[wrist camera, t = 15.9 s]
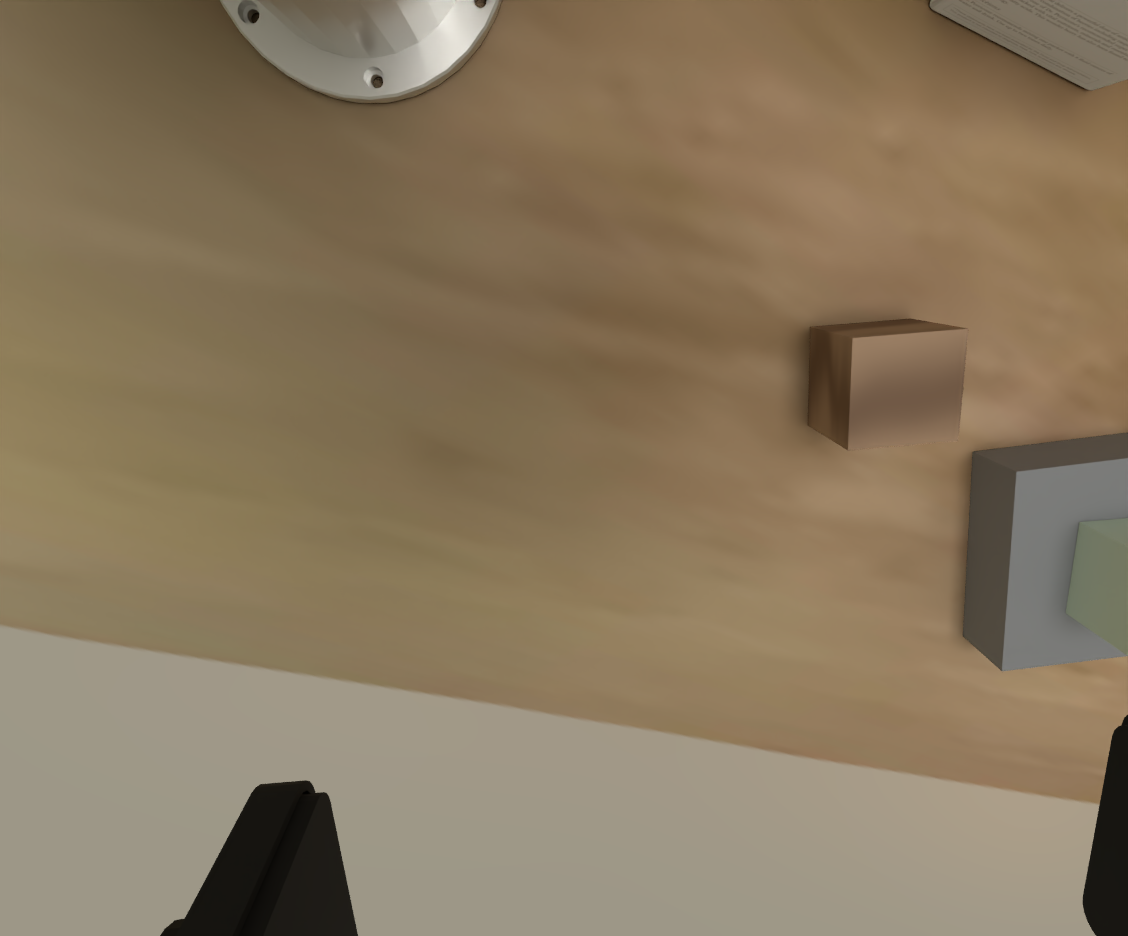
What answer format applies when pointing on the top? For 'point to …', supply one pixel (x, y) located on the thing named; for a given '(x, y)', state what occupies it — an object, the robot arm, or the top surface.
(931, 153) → the top surface
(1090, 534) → the sage cube
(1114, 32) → the supplement box
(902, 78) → the top surface
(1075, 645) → the base block
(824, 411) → the walnut cube
